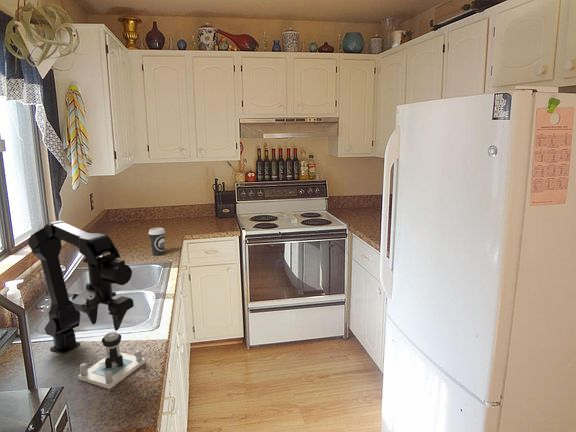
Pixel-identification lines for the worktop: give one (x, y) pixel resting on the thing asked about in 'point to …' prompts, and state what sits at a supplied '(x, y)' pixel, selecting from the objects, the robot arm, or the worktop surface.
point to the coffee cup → (157, 241)
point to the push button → (112, 350)
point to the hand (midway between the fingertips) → (105, 327)
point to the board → (111, 370)
